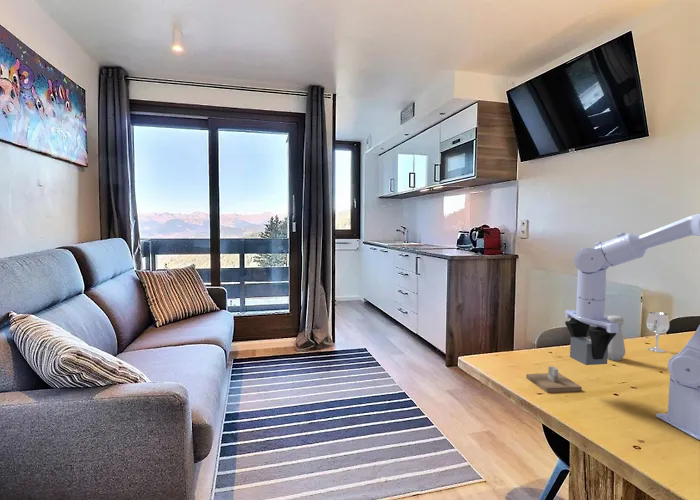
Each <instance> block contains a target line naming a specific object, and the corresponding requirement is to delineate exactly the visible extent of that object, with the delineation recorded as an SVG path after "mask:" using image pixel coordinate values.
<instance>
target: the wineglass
mask: <svg viewBox="0 0 700 500" xmlns="http://www.w3.org/2000/svg"><path fill="white" fill-rule="evenodd" d="M646 327H647V329H648V330H649V331H651V332H652V333H655V335H654V337H655V346H654V347H648V348H647V350H648V351H651V352H656V353H666V349H665V350H664V349H662V348H660V347H659V346H658V345H659V344H658V343H659V339H660V334H664V333H666V332H668V331H669V330H670V319H669V314H668V313H665V312H660V311H649V313H648V314H647V318H646Z"/></svg>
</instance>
